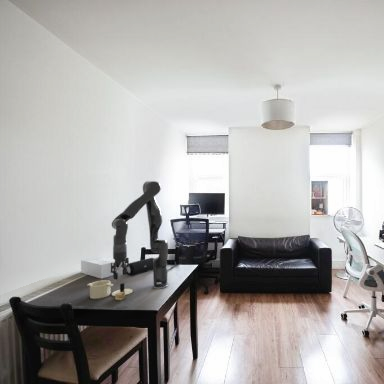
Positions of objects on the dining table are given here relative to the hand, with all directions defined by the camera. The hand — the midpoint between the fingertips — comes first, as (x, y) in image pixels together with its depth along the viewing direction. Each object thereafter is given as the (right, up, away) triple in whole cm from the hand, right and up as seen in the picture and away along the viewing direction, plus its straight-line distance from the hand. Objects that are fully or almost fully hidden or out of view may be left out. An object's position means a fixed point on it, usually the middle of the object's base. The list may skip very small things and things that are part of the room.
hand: (120, 276), depth 163 cm
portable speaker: (-13, -16, +60) cm, 63 cm away
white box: (-49, -16, +57) cm, 77 cm away
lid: (-5, -14, +12) cm, 19 cm away
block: (-1, -15, +2) cm, 15 cm away
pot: (-17, -15, +8) cm, 24 cm away
